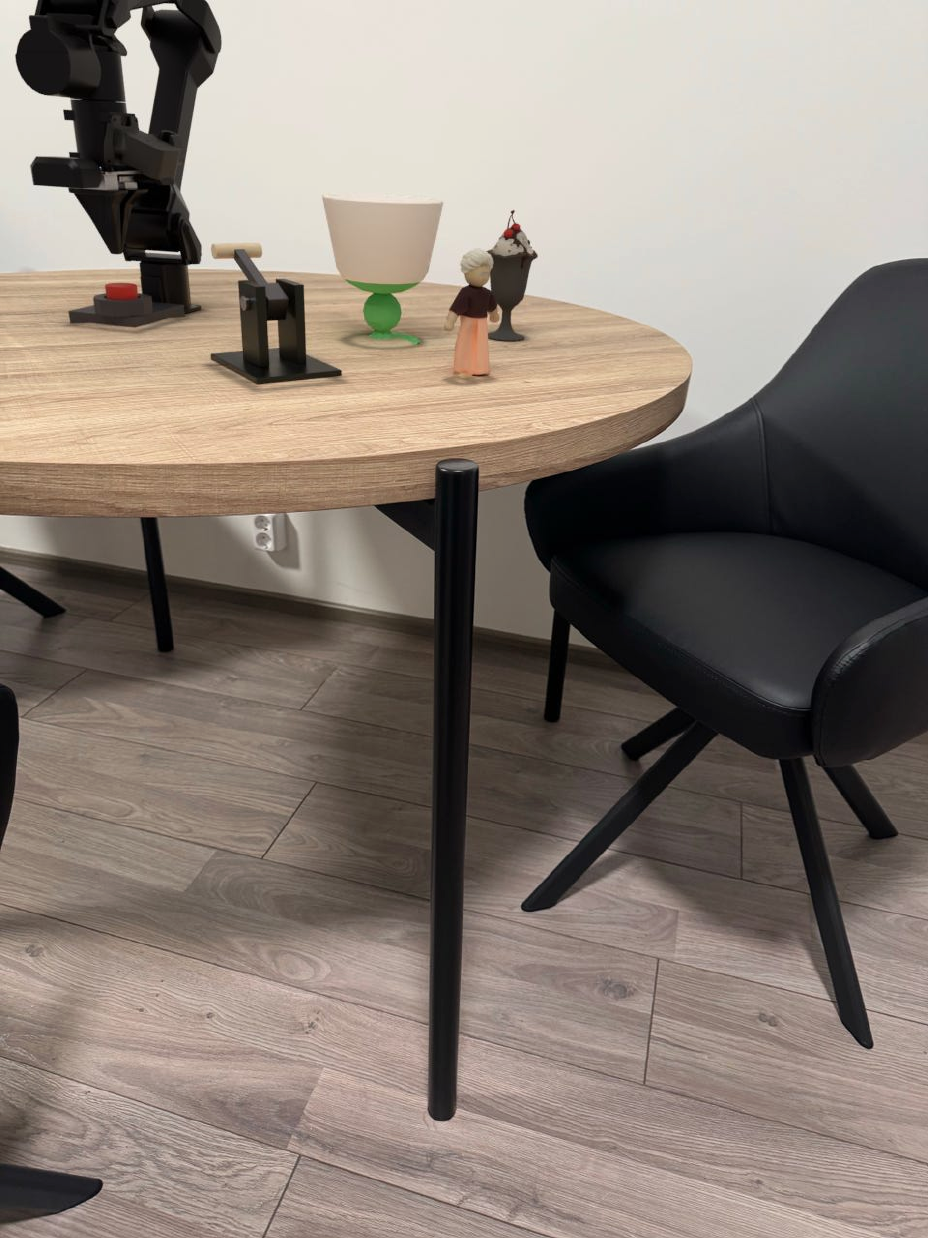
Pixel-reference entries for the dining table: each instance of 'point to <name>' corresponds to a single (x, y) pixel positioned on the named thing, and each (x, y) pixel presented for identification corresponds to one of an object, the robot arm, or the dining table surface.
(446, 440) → the dining table surface
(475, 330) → the grandmother figurine
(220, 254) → the lever
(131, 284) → the power button
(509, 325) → the sundae
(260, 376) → the switch bracket
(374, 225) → the cup
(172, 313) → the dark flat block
